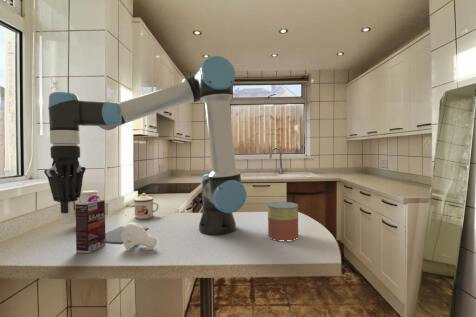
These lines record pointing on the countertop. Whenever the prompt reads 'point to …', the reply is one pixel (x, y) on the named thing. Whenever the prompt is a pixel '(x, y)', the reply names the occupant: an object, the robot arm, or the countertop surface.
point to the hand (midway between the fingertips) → (68, 222)
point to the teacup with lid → (144, 207)
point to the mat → (116, 235)
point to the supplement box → (90, 226)
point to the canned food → (283, 220)
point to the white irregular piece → (136, 237)
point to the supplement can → (89, 196)
